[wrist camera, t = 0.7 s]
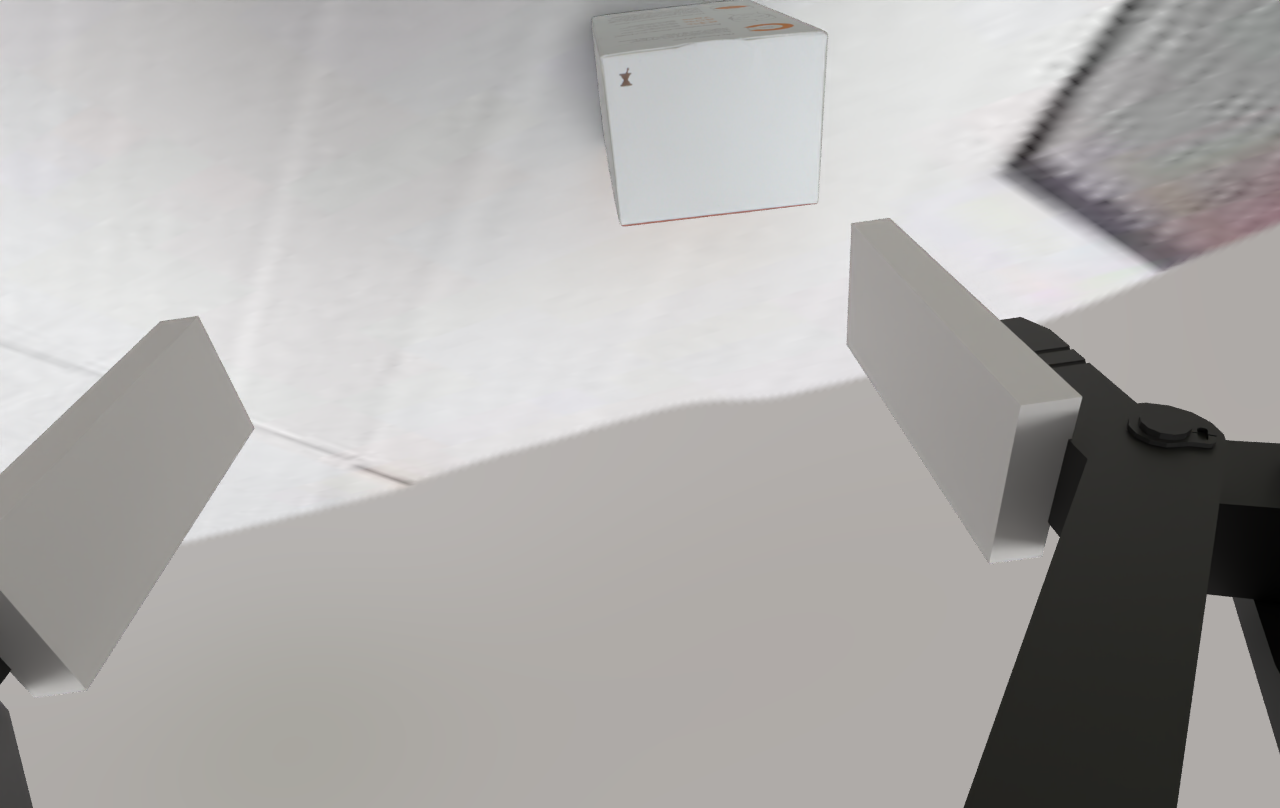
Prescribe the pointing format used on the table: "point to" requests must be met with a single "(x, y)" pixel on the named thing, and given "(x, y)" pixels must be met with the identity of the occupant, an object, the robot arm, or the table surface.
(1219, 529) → the robot arm
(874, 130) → the table surface
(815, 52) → the small box
